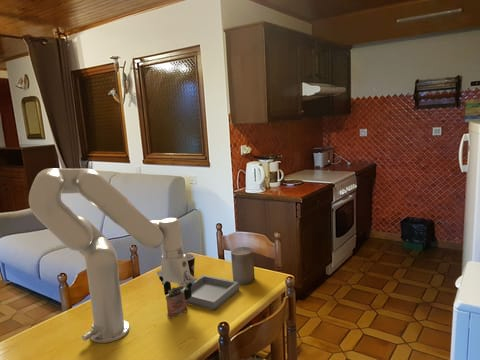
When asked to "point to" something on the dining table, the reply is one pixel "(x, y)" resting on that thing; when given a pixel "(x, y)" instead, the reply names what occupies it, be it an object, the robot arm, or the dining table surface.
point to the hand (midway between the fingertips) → (178, 295)
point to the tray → (211, 292)
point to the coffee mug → (191, 263)
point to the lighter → (176, 302)
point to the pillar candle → (243, 265)
